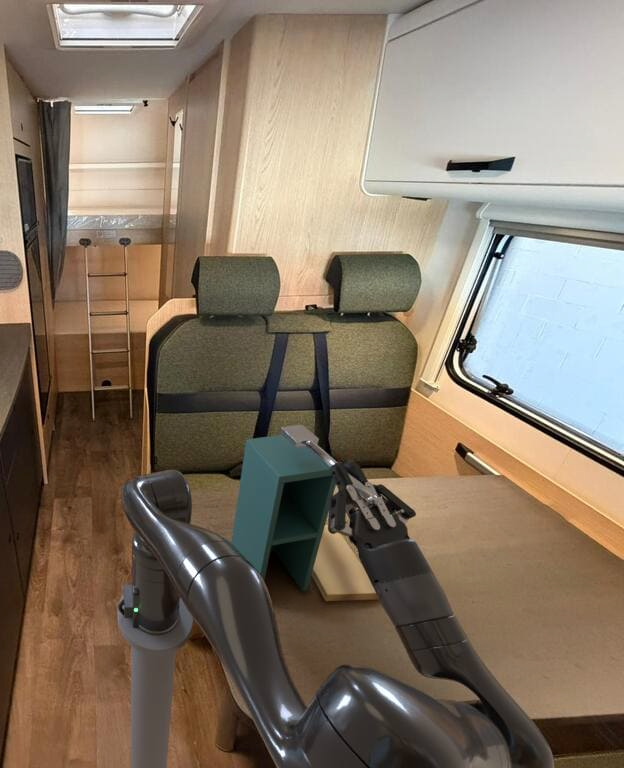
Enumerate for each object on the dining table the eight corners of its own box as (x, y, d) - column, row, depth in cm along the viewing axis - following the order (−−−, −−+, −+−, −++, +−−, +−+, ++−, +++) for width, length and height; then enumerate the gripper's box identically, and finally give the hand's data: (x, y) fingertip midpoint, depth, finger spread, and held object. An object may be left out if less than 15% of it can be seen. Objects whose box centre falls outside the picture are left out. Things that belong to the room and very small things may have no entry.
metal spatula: (279, 432, 78) (281, 425, 77) (300, 429, 79) (302, 422, 78) (360, 510, 60) (363, 501, 59) (387, 505, 60) (390, 496, 60)
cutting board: (325, 601, 86) (327, 594, 85) (288, 531, 103) (289, 525, 103) (378, 599, 86) (380, 592, 86) (332, 530, 104) (334, 524, 103)
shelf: (229, 555, 97) (246, 439, 83) (276, 546, 99) (300, 432, 85) (255, 601, 87) (279, 477, 73) (307, 590, 89) (340, 467, 75)
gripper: (468, 567, 54) (394, 447, 64) (375, 586, 52) (313, 458, 61) (427, 578, 60) (366, 467, 70) (343, 596, 58) (291, 478, 68)
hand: (341, 463), depth 66 cm, fingers closed on metal spatula, 1 cm apart
